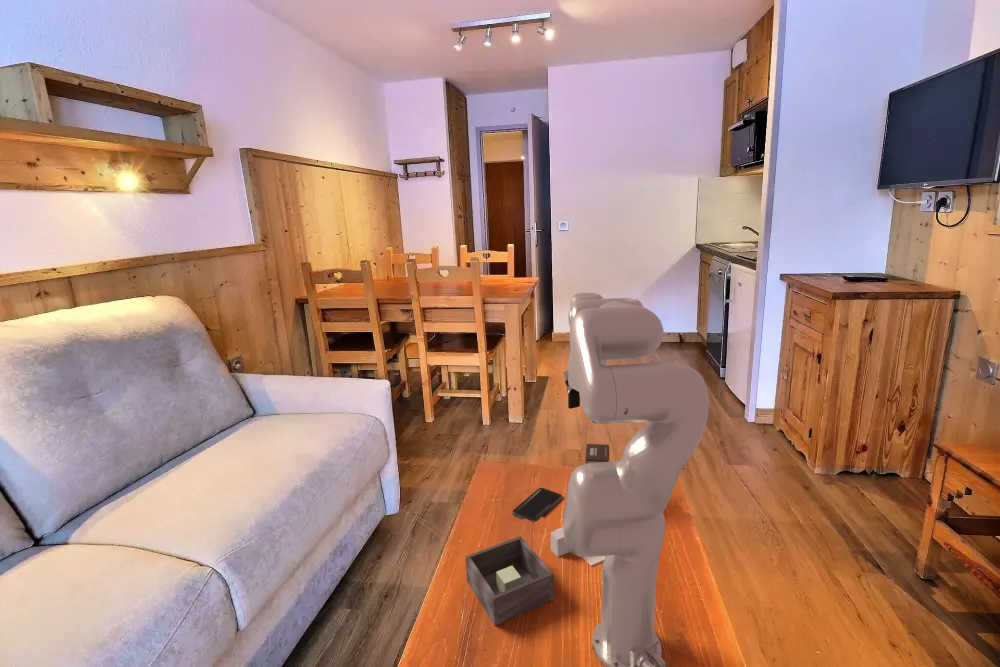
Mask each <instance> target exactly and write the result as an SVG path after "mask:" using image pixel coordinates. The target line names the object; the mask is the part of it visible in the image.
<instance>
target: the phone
mask: <svg viewBox="0 0 1000 667" xmlns="http://www.w3.org/2000/svg"><path fill="white" fill-rule="evenodd" d="M562 499H563V495H562V494H561V493H558V492H555V491H552V490H551V489H548V488H545V487H539V488H538V489H537V490H535V491H534V492H533V493H532V494H530V495H529V496H528V497H527V498H526V499H525V500H523V501H522V502H521V503H520V504H519V505H518V506H516V507H515V508H514V509H513V510H512V516H514V517H516V518H518V519H521V520H527V521H530V522H532V523H533V522H537V521H538V520H539V519H541V518H543V517H545V515H547V514H548V513H549V512H550V511H551V510H552V509H554V507H555V506H556V505H558V504H559V502H561V501H562Z"/></svg>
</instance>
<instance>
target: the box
mask: <svg viewBox="0 0 1000 667" xmlns="http://www.w3.org/2000/svg"><path fill="white" fill-rule="evenodd" d="M509 566H513V567H514V568H515V570H516V571H517V572H518V574H519V575H520V576H521V584H520V585H518V586H516V587H513V588H511V589H508V590H506V591H504V592H501V593H500V591H499V590H498V588H497V581H496V572H497V571H499V570H502V569H504V568H507V567H509ZM465 571H466V581H467V583H468V585H469V587H470V588H471V589H472V592H473V593H474V595H475V597H476V598H477V599H478V601H479V603H480V605H481V607H482V608H483V610H484V611H485V613H486V614H487V615H488V618H489V619H490V620H491V621H490V622H491V623H492V624H493V626H498V625H500V624H502V623H504V622H507V621H509V620H511V619H513V618H516V617H518V616H520V615H522V614H525V613H527V612H529V611H531V610H533V609H536V608H538V607H540V606H542V605H544V604H547V603H549V602H552V601H554V597H555V596H554V572H552V570H551V569H550V568H549V567H548V566H547V565H546V564H545V562H544V561H543V560H542V559H541V558H540V556H538V554H537V553H536V552H535V551H534V550H533V549H532V548H531V546H530V545H529V544H528V543H527V541H525V539H524V538H523V537H522V536H521V535H519V536H516V537H514V538H511V539H509V540H506V541H503V542H500V543H498V544H496V545H493V546H490V547H487V548H484V549H481V550H479V551H476V552H474V553H471V554H469V555H466V556H465Z"/></svg>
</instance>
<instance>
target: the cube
mask: <svg viewBox="0 0 1000 667" xmlns="http://www.w3.org/2000/svg"><path fill="white" fill-rule="evenodd" d="M496 581H497V588H498V590H499V591H500V593H501V592H504V591H506V590H508V589H511V588H513V587H516V586H518V585H520V584H521V576H520V575H519V574H518V572H517V571H516V570H515V568H514V567H513V566H509V567H507V568H504V569H502V570H499V571H497V572H496Z"/></svg>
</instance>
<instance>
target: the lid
mask: <svg viewBox="0 0 1000 667" xmlns="http://www.w3.org/2000/svg"><path fill="white" fill-rule="evenodd" d="M550 550H551V552H552V553H553V554H554V555H556V557H557V558H559V557H561V556H564V555H565V554H566V555H567V554H569V553H572V552H571V551H570V550H569V548H568V546H567V544H566V542H565V538H564V533H563V526H562V527H560V528H557V529H555V530H554V531H551V532H550ZM605 557H606V556H596V557H582V558H583V560H584V561H586V563H588V565H590V566H591V567H594V566H596V565H599V564H601V563H604V559H605Z"/></svg>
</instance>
